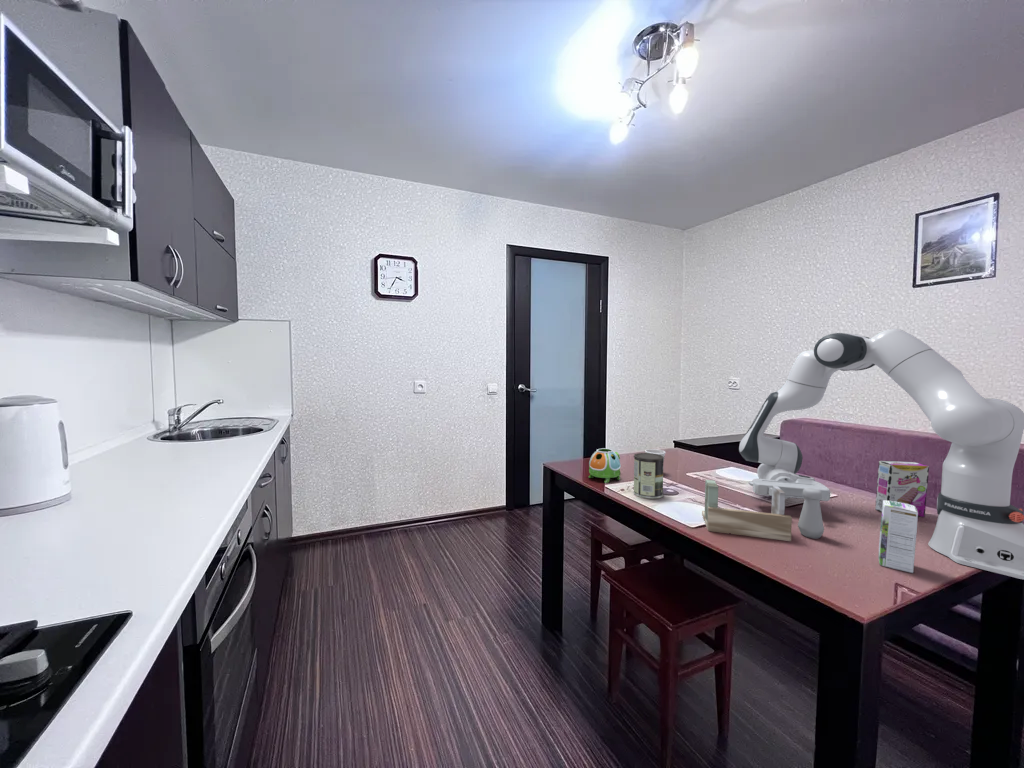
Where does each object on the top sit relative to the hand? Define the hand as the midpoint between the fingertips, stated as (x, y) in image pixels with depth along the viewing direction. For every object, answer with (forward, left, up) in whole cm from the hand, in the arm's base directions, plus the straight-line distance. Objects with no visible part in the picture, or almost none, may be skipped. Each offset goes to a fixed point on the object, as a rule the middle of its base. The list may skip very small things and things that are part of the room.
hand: (798, 497), depth 117 cm
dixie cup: (+56, -6, -8) cm, 57 cm away
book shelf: (+6, +18, -7) cm, 21 cm away
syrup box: (-24, +9, -8) cm, 27 cm away
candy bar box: (-14, -36, -8) cm, 39 cm away
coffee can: (+40, +18, -8) cm, 45 cm away
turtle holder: (+63, +16, -8) cm, 65 cm away
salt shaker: (-6, +8, -8) cm, 13 cm away
